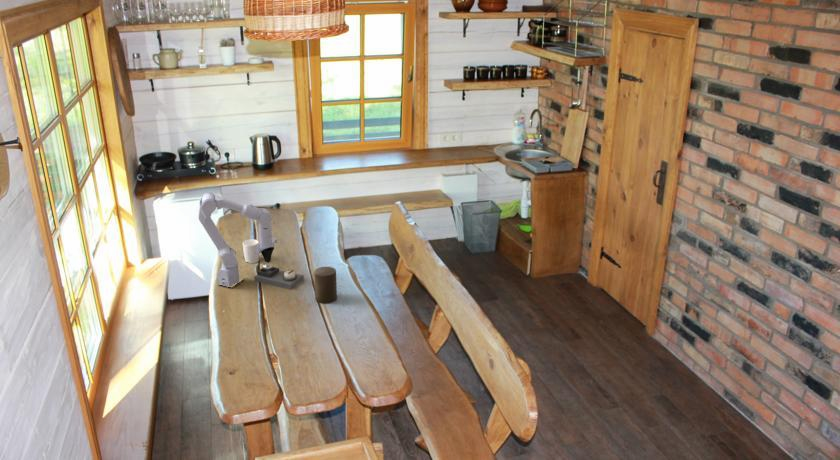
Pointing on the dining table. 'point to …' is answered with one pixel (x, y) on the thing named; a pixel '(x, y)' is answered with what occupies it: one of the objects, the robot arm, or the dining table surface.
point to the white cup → (250, 250)
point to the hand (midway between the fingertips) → (267, 261)
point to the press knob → (267, 266)
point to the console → (277, 278)
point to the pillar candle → (325, 284)
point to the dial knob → (289, 274)
